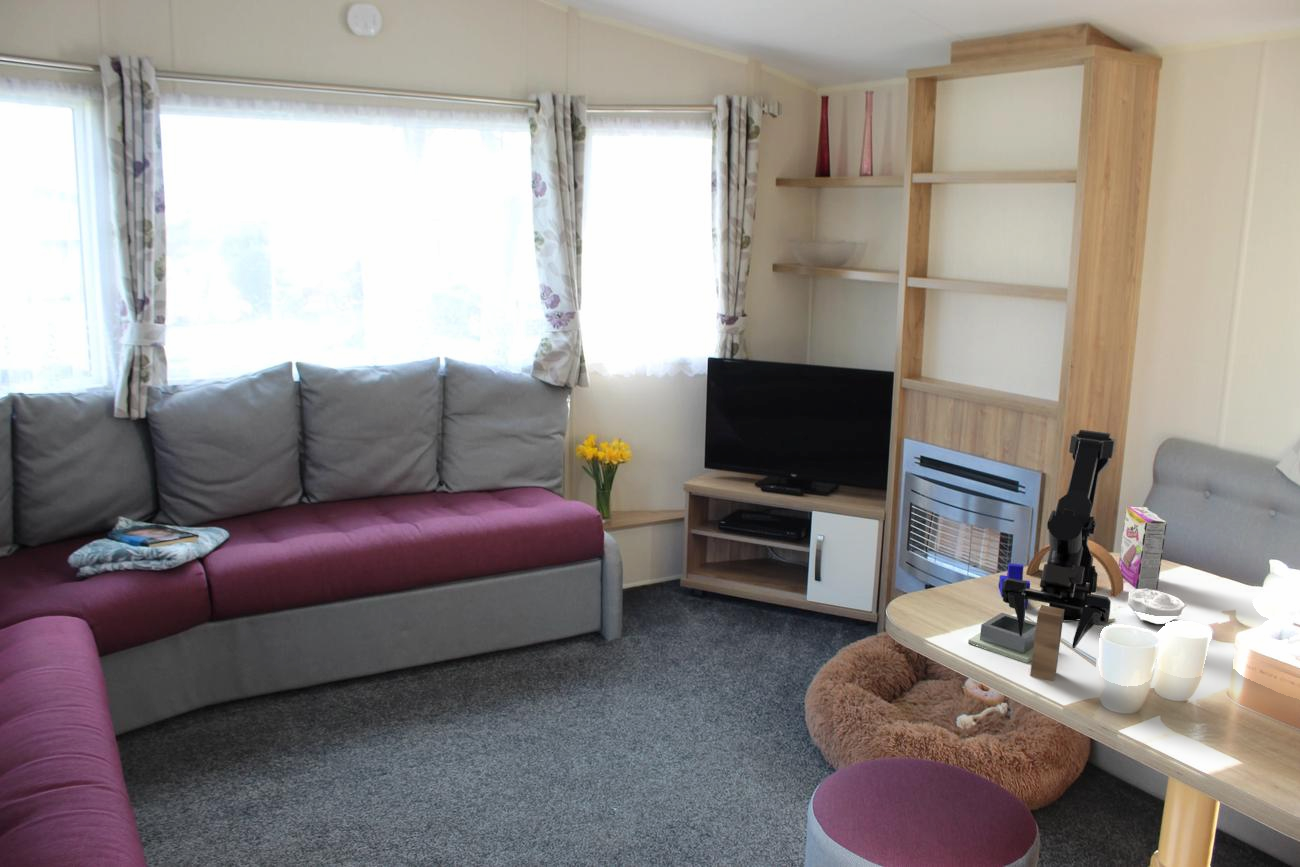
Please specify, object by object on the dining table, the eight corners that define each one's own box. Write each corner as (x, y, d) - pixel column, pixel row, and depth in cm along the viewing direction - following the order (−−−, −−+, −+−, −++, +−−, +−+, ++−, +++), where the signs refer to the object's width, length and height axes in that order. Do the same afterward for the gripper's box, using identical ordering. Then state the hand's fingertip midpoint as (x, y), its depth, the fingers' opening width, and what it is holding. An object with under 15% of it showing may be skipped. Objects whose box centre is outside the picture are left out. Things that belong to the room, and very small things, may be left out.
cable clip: (998, 587, 245) (1001, 562, 244) (1019, 589, 244) (1022, 564, 243) (1004, 607, 234) (1008, 581, 232) (1026, 610, 233) (1030, 583, 231)
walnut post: (1033, 667, 205) (1041, 604, 202) (1056, 672, 203) (1064, 609, 200) (1030, 675, 201) (1038, 611, 198) (1052, 680, 199) (1061, 616, 196)
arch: (1035, 568, 258) (1040, 528, 256) (1123, 591, 246) (1129, 548, 243) (1025, 574, 254) (1030, 533, 251) (1114, 598, 241) (1121, 555, 239)
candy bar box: (1115, 572, 257) (1125, 505, 253) (1137, 573, 257) (1147, 506, 253) (1135, 590, 246) (1146, 520, 242) (1158, 591, 246) (1168, 521, 242)
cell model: (1160, 609, 235) (1165, 580, 234) (1191, 632, 224) (1196, 601, 222) (1115, 609, 235) (1119, 579, 233) (1143, 632, 223) (1148, 601, 221)
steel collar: (1000, 627, 220) (1001, 612, 220) (1043, 640, 215) (1045, 625, 214) (979, 639, 214) (981, 624, 213) (1023, 654, 208) (1025, 638, 207)
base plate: (995, 626, 223) (996, 622, 223) (1053, 645, 215) (1054, 641, 215) (968, 643, 214) (968, 639, 214) (1027, 663, 206) (1027, 659, 206)
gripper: (1009, 536, 204) (991, 611, 197) (1117, 555, 196) (1102, 634, 189) (1012, 564, 213) (995, 637, 206) (1115, 583, 205) (1101, 660, 198)
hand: (1046, 641), depth 199 cm, fingers open, 9 cm apart
